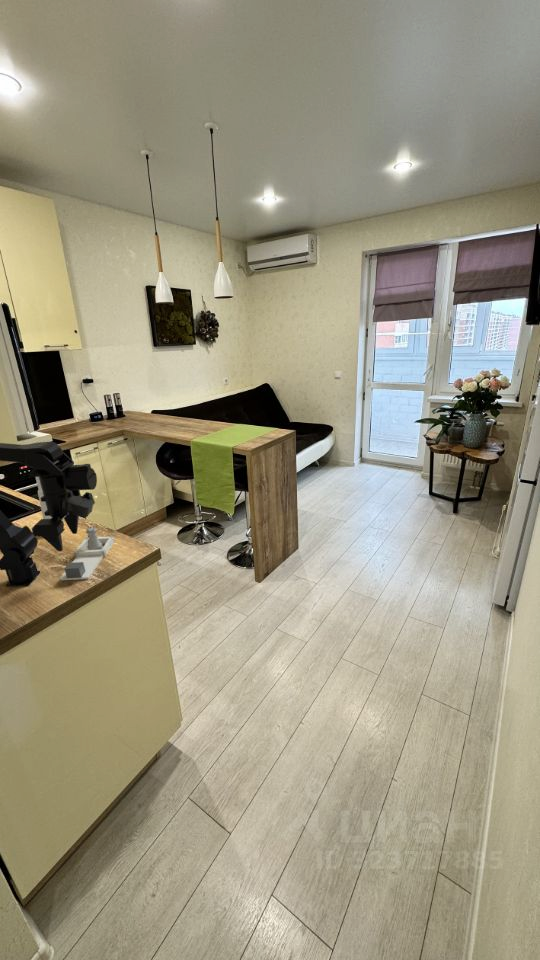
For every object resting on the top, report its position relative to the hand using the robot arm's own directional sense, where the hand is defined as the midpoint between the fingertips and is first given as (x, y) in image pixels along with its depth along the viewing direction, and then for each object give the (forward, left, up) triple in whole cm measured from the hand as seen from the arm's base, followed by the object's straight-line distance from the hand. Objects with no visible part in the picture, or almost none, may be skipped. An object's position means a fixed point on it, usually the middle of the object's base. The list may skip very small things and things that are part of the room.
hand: (68, 541), depth 104 cm
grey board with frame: (0, +8, -12) cm, 14 cm away
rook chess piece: (0, +14, -12) cm, 19 cm away
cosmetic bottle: (-20, +29, -12) cm, 37 cm away
